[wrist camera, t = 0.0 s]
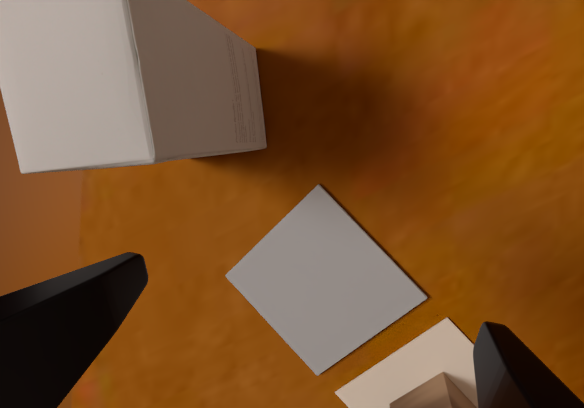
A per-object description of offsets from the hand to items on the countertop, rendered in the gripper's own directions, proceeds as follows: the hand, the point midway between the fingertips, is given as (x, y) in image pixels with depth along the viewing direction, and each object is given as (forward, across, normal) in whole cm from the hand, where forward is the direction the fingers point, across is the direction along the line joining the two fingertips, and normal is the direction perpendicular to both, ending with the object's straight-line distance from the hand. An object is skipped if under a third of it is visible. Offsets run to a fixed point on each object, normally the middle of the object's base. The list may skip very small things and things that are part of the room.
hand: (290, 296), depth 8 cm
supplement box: (+17, +11, -2) cm, 20 cm away
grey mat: (+13, +2, +11) cm, 17 cm away
